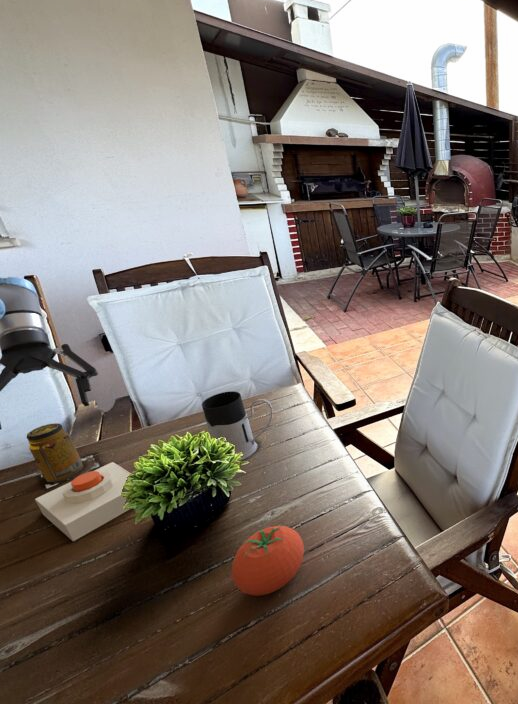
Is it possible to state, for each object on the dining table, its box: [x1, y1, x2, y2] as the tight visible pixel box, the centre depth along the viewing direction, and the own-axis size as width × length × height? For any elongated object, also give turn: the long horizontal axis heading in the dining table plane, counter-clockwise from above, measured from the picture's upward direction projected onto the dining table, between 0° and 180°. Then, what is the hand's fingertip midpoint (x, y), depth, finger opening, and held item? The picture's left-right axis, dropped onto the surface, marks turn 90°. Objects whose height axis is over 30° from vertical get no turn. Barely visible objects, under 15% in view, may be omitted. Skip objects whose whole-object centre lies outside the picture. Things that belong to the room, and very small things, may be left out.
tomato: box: [231, 525, 305, 597], centre depth 66 cm, size 10×10×10 cm
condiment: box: [26, 422, 100, 489], centre depth 89 cm, size 7×8×12 cm
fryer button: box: [70, 470, 102, 492], centre depth 80 cm, size 4×4×2 cm
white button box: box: [34, 461, 132, 542], centre depth 81 cm, size 14×12×6 cm
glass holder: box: [201, 390, 274, 461], centre depth 96 cm, size 9×14×15 cm, turn 105°
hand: (43, 415), depth 90 cm, fingers open, 13 cm apart
